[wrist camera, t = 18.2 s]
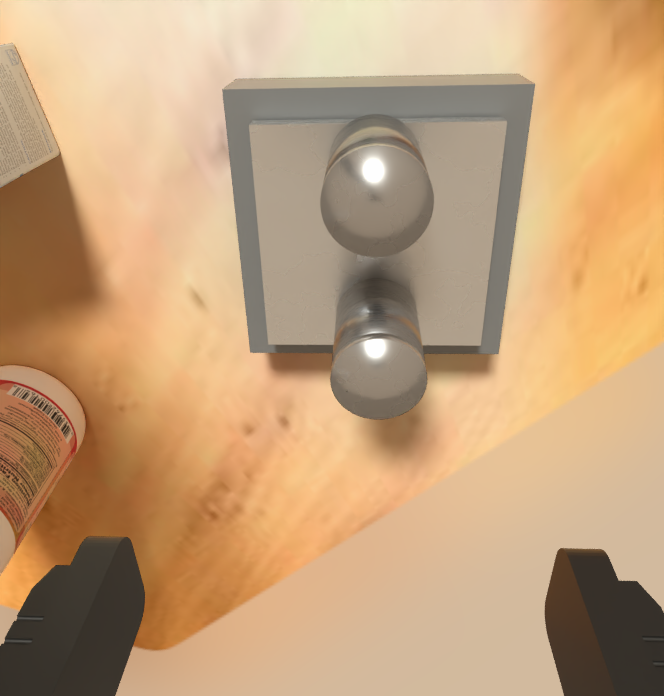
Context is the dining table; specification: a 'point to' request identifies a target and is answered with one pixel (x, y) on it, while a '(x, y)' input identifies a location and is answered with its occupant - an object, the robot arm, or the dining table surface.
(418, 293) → the platform
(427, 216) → the cylinder
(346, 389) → the cylinder
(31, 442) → the fruit juice
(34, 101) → the light bulb box
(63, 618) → the robot arm
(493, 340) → the scale
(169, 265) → the dining table surface
